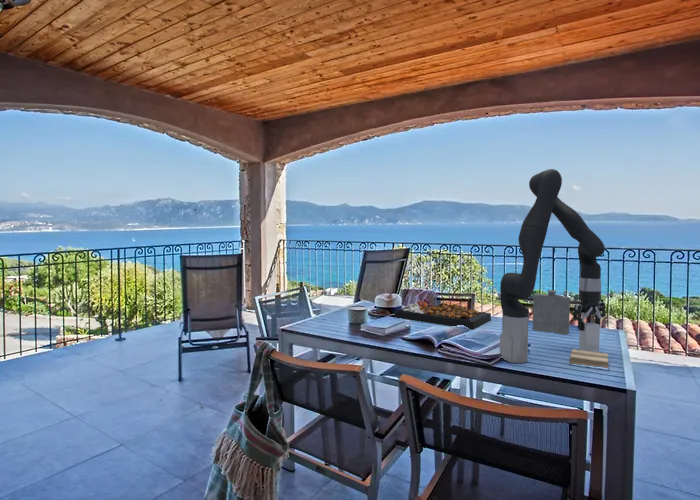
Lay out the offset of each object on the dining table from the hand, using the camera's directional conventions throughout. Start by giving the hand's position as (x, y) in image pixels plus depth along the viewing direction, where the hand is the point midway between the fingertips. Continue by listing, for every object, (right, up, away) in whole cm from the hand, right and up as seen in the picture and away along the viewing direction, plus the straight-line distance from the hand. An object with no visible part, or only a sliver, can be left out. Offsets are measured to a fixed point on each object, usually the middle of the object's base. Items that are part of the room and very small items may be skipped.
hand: (589, 329), depth 171 cm
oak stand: (-7, -11, -12) cm, 17 cm away
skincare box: (0, -10, 0) cm, 10 cm away
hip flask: (+1, -8, +34) cm, 35 cm away
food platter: (-46, -7, +62) cm, 77 cm away
